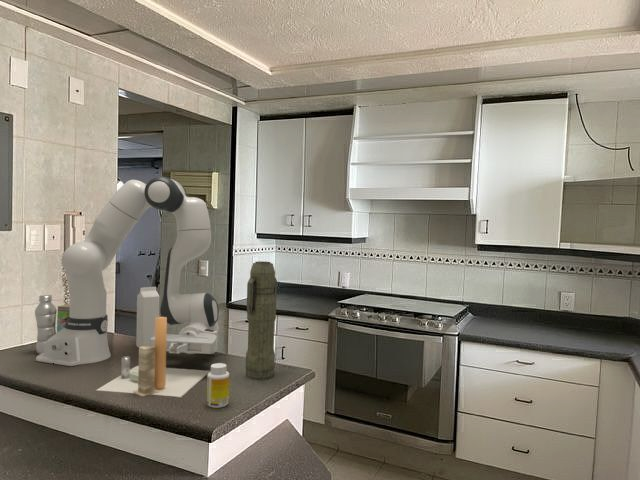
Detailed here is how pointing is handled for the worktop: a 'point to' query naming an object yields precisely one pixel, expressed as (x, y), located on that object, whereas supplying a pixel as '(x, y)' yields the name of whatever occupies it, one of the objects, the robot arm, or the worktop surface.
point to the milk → (146, 315)
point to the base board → (175, 386)
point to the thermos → (261, 321)
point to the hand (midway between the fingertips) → (173, 350)
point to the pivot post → (125, 367)
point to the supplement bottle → (218, 386)
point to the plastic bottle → (45, 321)
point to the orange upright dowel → (158, 353)
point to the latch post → (146, 371)
